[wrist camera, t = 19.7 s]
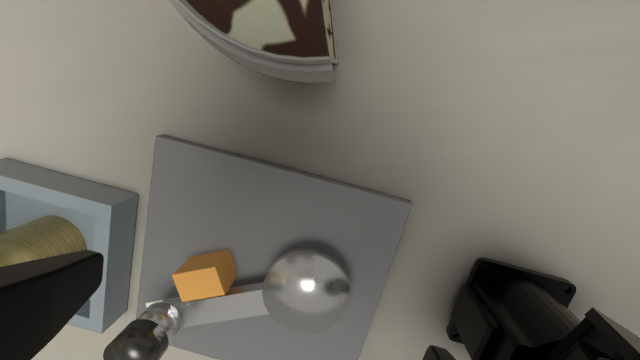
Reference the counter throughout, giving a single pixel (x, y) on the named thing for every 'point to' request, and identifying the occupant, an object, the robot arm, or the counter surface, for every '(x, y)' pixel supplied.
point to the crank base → (260, 246)
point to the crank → (247, 305)
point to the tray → (89, 217)
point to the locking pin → (40, 240)
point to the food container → (269, 35)
